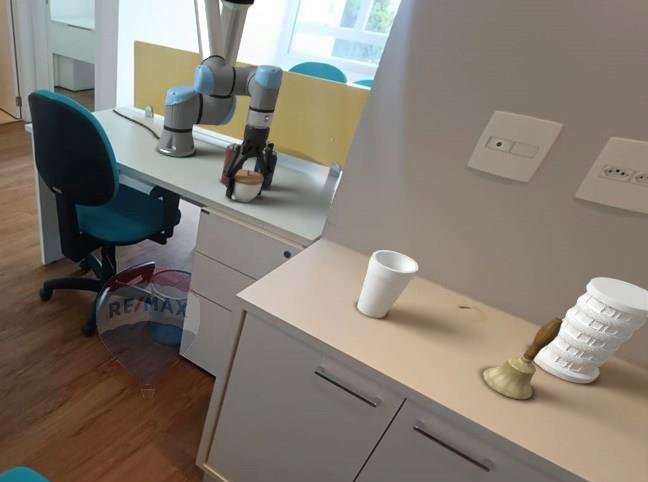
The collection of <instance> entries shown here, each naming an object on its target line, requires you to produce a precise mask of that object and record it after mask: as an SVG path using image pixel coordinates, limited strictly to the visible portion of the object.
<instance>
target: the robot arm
mask: <svg viewBox="0 0 648 482" xmlns="http://www.w3.org/2000/svg"><path fill="white" fill-rule="evenodd" d="M220 2H221V3H222V5H221V6H222V7H220ZM254 4H255V0H193V6H194V15H195V26H196V34H197V45H198V56H199V65H197V66H196V68H195V71H194V77H193V85H187V84H185V85H177V86H173V87H171V88H169V89H168V90H167V92H166V96H165V102H164V104H165V106H164V116H163V117H164V118H163V127H162V128H163V129H162V131H161V134H160V136H158V135H157V134H156V132H155V131H154V130H153V129H151V128H150V127H149V126H147V125H146V124H143V123H142V122H139V121H137V120H136V119H133V118H130V117H128V116H126V115H124V114H122V113H120V112H119V111H118V110H116V109H114V108H113V109H112V112H114V113H115V114H117V115H118V116H120V117H123V118H124V119H127V120H128V121H132V122H134V123H136V124H137V125H140V126H142V127H143V128H146V129H147V130H148V131H149V132H151V133H152V134H153V136H154V137H155V138H156V139H158V142H157V145H156V150H157V152H159V153H160V154H161V155H165V156H168V157H175V158H186V157H190V156H193V155H194V154H195V148H196V147H195V141H194V135H193V134H194V133H193V130H194V125H200V126H201V125H202V126H203V125H204V126H215V127H218V126H226V125H228V124H229V123H230V122H231V121H232V119H233V117H234V116H235V112H236V108H237V96H238V97H239V96H241V97H250V99H249V100H250V101H249V106H248V111H247V115H246V120H245V122H246V124H245V126H244V130H243V131H244V132H243V141H242V142H241V143H237V142H235V143H233V144H234V145H233V149H232V153H231V155H230V157H229V159H228V161H227V163H226V166H225V168H224V170H223V169H222V172H221V175H222V174H223V175H224V176H225V177H227V180H226V185H225V188H226V190H225V197H226V198H228V199H229V200H232V199H233V195H232V194H233V189H234V184H235V178H234V176H235V175H236V174H237V172H238V171H239V169H240V168H241V166H242V165H243V166H244V164H245V162H247V161H248V160H249V159H252V158H255V159H257V161H258V164H259V168H260V171H261V173H259V174H261V175H262V176H263V177H264V180H263V183H262V186H261V189H260V191H259V193H258V195H257V196H259V197H261V195H262V194H261V193H262V191H263V190H262V187H263V185H264V184H265V181H266V176H267V177H268V176H269V175H270V174H269V173H273V151H274V148H275V143H273V142H272V141H270V140H269V137H270V131H271V128H270V127H271V126H272V123H273V119H274V113H275V110H276V106H277V101H278V97H279V93H280V90H281V86H282V82H283V81H282V79H283V74H284V70H283V68H281V67H280V66H276V65H270V64H261V65H259V66H255V65H247V66H236V64H237V60H238V56H239V50H240V46H241V42H242V37H243V34H244V28H245V24H246V20H247V15H248V11H249V9H250V8H251V7H252V6H253V5H254ZM241 149H242V151H241ZM264 149H265V160H264V155H263V150H264ZM240 152H241V153H240ZM239 153H240V154H239ZM243 155H245V156H243ZM238 156H239V157H238ZM237 158H238V159H237ZM265 161H266V164H265Z"/></svg>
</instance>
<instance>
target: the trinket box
mask: <svg viewBox="0 0 648 482" xmlns="http://www.w3.org/2000/svg"><path fill="white" fill-rule="evenodd" d="M234 178H235V184H234V189H233V194H232V198H233V199H234V200H235V201H238V202H240V203H241V202H242V203H249V202H251V201H252V200H253V199H255V198H256V197H257V196H258V193H259V191H260V189H261V186H262V183H263V180H264V177H263V176H262V175H261V174H259V173H257V172H254V170H250V169H242V170H239V171H238V172H237V174H236V175H235V176H234Z"/></svg>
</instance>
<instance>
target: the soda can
mask: <svg viewBox="0 0 648 482" xmlns="http://www.w3.org/2000/svg"><path fill="white" fill-rule="evenodd" d="M263 155H264V160H265V149H264V150H263ZM255 159H256V160H255V163H254V168H253V171H254V172H257V173H261V171H260V168H259V164H258V161H257V158H255ZM277 163H278V152H277V151H275V150H273V173H269V174H270V175H269V176H268V177H267V176H266V181H265V184H264V185H263V187H262V191H263V190H268V189H269V188H270V187H271V186H272V182H273V178H274V175H275V170H276V166H277ZM265 164H266V161H265Z"/></svg>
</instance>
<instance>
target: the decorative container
mask: <svg viewBox="0 0 648 482" xmlns="http://www.w3.org/2000/svg"><path fill="white" fill-rule="evenodd" d="M585 288H586V292H585V293H584V294H581V295H580V296H579V297H578V298H577V301H576V304H575V305H574V306H572V307H571V308H569V309H568V310H567V311H566V314H565V317H564V318H563V319H561V320H563V322H562V325H561V328H560V331H559V334H558V335H557V337H556V338H555V339H554V340H553V341H552V342H551V343H550V344H549V345H547V346H545V347H544V348H543V349H541V350H540V352H539V353H538V354H537V356H536V357H535V359H534V360H533V362H535V364H536V365H538V366H539V367H540V368H542V370H544V371H546V372H548V374H551V375H553V376H555V377H557V378H559V379H562V380H564V381H567V382H571V383H575V384H590V383H592V382H594V381H595V380H596V379H597V378H598V377H599V375H600V369H599V368H600V367H602V366H603V365H605V363H607V361H608V359H609V356H612V355H614V354H615V353H617V352H618V351H619V349H620V347H621V345H622V344H623V343H625V342H627V341H628V340H630V339H631V338H632V336H633V334H634V332H635V331H637V330H639V329H640V328H642V327H644V325H645V324H646V322H647V319H648V290H647V289H645V288H643V287H640V286H638V285H635V284H633V283H630V282H627V281H624V280H620V279H617V278H612V277H605V276H597V277H594V278H592V279H590V281H589V282H588V283H587V285H586V286H585Z"/></svg>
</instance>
